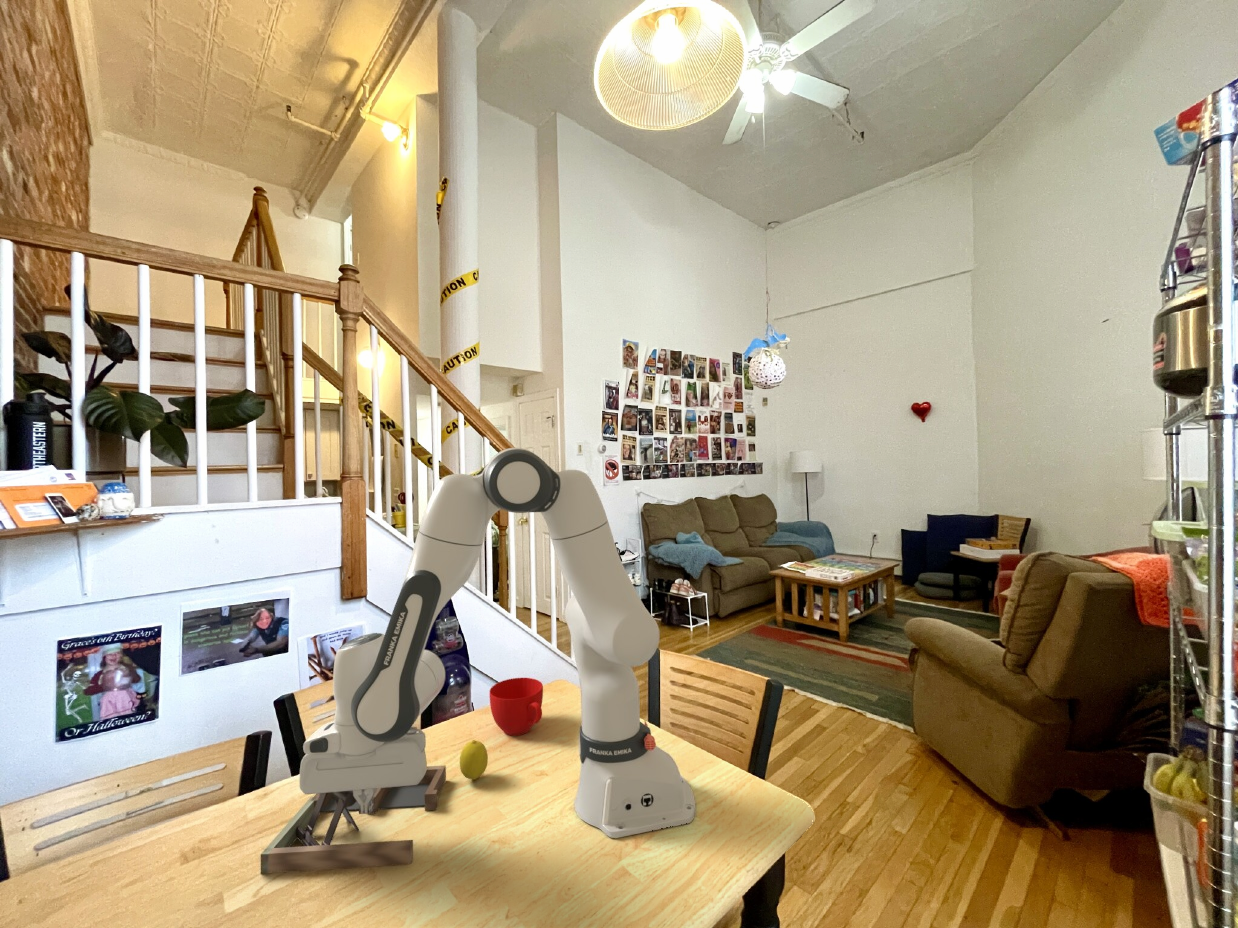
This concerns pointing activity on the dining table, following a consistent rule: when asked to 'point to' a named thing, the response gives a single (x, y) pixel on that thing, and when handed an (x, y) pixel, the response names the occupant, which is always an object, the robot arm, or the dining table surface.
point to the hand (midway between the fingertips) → (366, 811)
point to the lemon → (473, 760)
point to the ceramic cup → (516, 704)
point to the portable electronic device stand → (343, 801)
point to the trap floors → (392, 798)
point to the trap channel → (344, 855)
